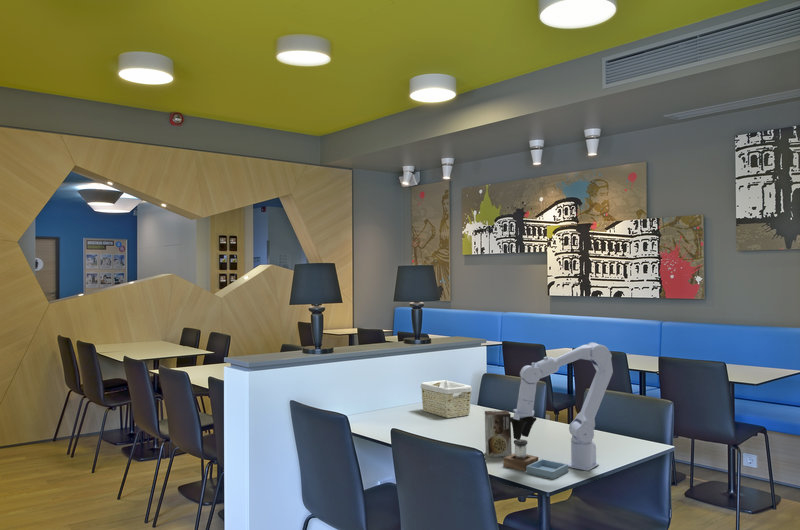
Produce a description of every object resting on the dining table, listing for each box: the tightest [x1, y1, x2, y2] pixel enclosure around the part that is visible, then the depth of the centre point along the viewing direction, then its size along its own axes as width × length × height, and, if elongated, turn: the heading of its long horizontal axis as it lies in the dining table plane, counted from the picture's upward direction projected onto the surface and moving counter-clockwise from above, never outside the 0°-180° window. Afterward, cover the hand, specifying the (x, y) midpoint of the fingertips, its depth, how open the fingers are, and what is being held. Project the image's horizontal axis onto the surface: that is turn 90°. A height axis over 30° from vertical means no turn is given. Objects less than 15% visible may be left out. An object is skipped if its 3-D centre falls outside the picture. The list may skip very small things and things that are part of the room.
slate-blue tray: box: [525, 458, 569, 480], centre depth 215 cm, size 11×10×2 cm
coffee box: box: [484, 410, 513, 458], centre depth 238 cm, size 9×6×16 cm
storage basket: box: [420, 379, 473, 419], centre depth 312 cm, size 24×16×15 cm
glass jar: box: [513, 438, 528, 460], centre depth 223 cm, size 5×5×9 cm
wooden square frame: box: [502, 452, 539, 472], centre depth 223 cm, size 9×9×3 cm
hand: (520, 437), depth 222 cm, fingers open, 7 cm apart
